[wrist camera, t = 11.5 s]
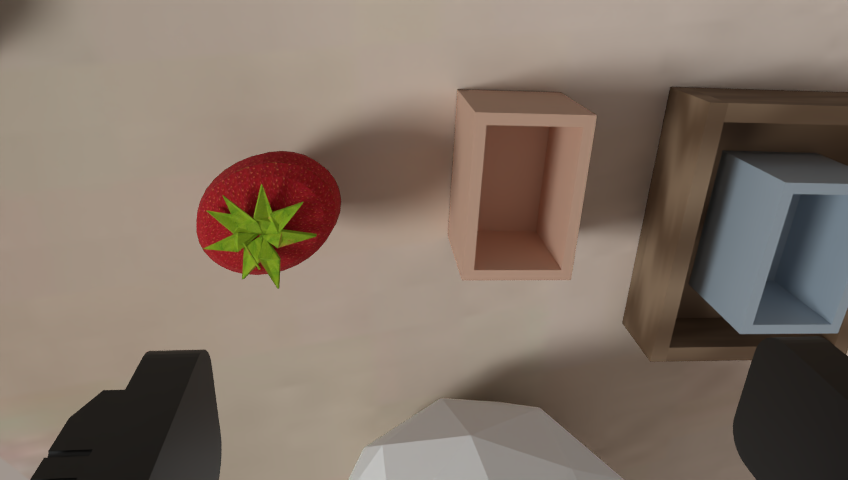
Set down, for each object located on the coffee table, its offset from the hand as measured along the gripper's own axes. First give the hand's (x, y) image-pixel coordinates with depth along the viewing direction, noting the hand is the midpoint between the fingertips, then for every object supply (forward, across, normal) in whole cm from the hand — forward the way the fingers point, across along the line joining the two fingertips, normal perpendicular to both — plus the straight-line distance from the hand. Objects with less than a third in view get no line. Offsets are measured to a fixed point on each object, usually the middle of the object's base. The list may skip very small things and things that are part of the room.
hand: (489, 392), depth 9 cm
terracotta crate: (+28, -6, +5) cm, 29 cm away
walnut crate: (+28, -22, +9) cm, 37 cm away
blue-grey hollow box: (+26, -22, +8) cm, 36 cm away
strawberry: (+28, +6, +6) cm, 29 cm away
